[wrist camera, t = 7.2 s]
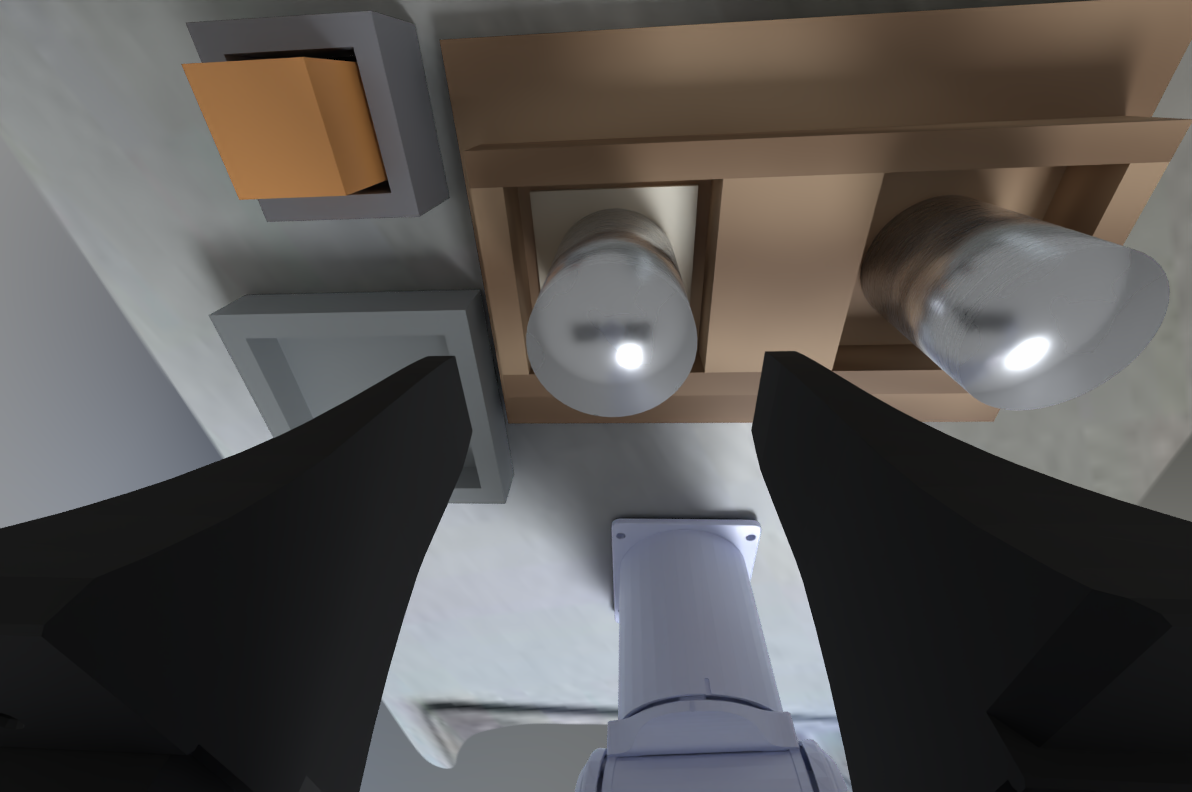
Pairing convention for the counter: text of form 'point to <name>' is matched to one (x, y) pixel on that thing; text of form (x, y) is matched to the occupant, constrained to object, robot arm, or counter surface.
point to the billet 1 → (612, 318)
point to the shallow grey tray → (369, 362)
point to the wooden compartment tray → (802, 168)
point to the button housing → (389, 90)
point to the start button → (289, 126)
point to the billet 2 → (1013, 299)
